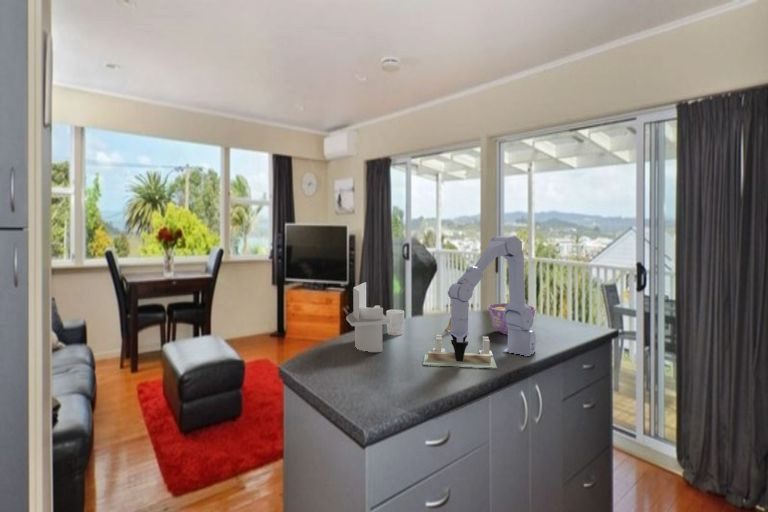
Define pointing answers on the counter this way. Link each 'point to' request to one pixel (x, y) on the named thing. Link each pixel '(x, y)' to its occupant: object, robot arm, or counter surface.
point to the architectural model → (366, 322)
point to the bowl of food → (501, 316)
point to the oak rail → (467, 358)
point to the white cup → (395, 322)
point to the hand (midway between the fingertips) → (459, 357)
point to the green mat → (458, 363)
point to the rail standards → (484, 350)
